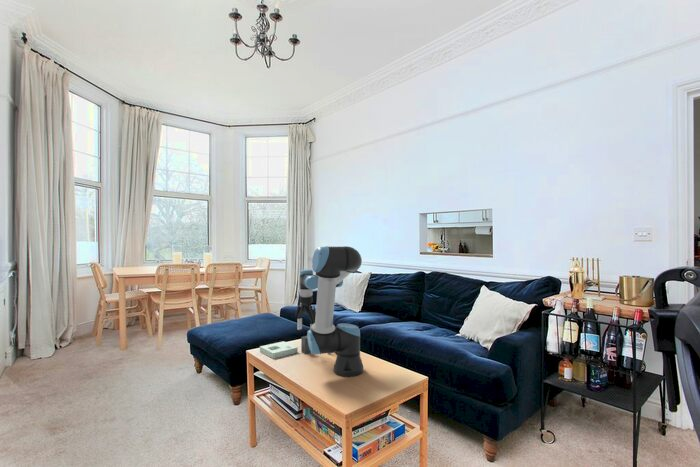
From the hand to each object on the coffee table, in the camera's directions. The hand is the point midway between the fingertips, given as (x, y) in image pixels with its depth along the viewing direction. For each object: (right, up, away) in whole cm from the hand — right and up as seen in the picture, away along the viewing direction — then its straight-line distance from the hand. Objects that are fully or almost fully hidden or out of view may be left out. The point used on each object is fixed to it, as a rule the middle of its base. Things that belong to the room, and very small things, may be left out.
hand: (306, 332), depth 208 cm
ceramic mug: (+18, -12, 0) cm, 22 cm away
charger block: (0, -12, -1) cm, 12 cm away
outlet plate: (-16, -12, 0) cm, 20 cm away
